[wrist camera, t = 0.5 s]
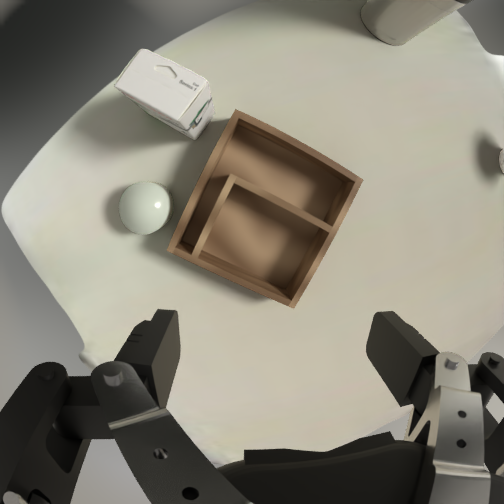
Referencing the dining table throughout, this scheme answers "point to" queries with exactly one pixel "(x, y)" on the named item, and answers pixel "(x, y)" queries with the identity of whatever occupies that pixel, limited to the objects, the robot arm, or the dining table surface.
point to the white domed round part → (145, 207)
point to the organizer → (264, 210)
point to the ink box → (168, 92)
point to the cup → (501, 160)
